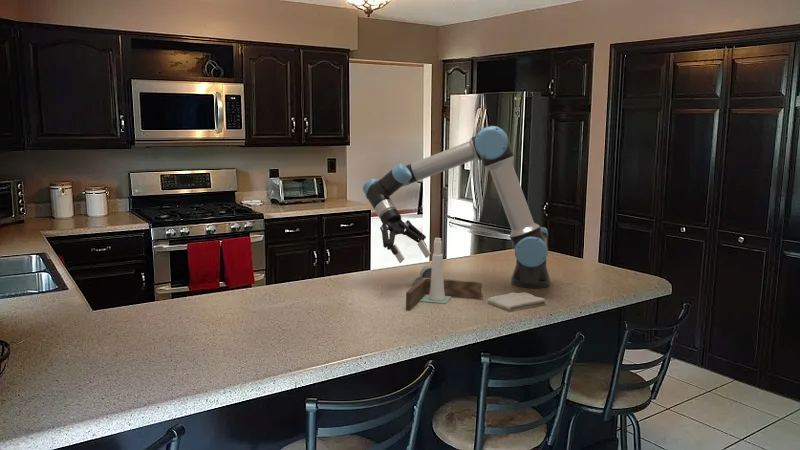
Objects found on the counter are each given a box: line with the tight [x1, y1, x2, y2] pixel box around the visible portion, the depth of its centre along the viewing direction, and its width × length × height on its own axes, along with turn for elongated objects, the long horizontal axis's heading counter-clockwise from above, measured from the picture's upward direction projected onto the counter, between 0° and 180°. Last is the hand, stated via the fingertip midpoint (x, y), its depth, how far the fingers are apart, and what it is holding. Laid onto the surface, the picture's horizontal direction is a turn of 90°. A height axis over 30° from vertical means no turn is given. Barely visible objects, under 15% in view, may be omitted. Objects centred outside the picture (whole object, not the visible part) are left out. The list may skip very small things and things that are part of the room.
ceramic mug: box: [411, 265, 432, 286], centre depth 241 cm, size 11×8×8 cm
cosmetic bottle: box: [429, 237, 445, 300], centre depth 219 cm, size 6×6×22 cm
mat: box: [418, 294, 453, 305], centre depth 220 cm, size 10×10×1 cm
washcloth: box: [486, 291, 546, 312], centre depth 215 cm, size 12×18×3 cm, turn 122°
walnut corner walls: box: [405, 278, 483, 311], centre depth 214 cm, size 22×22×6 cm
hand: (415, 258), depth 226 cm, fingers open, 13 cm apart
